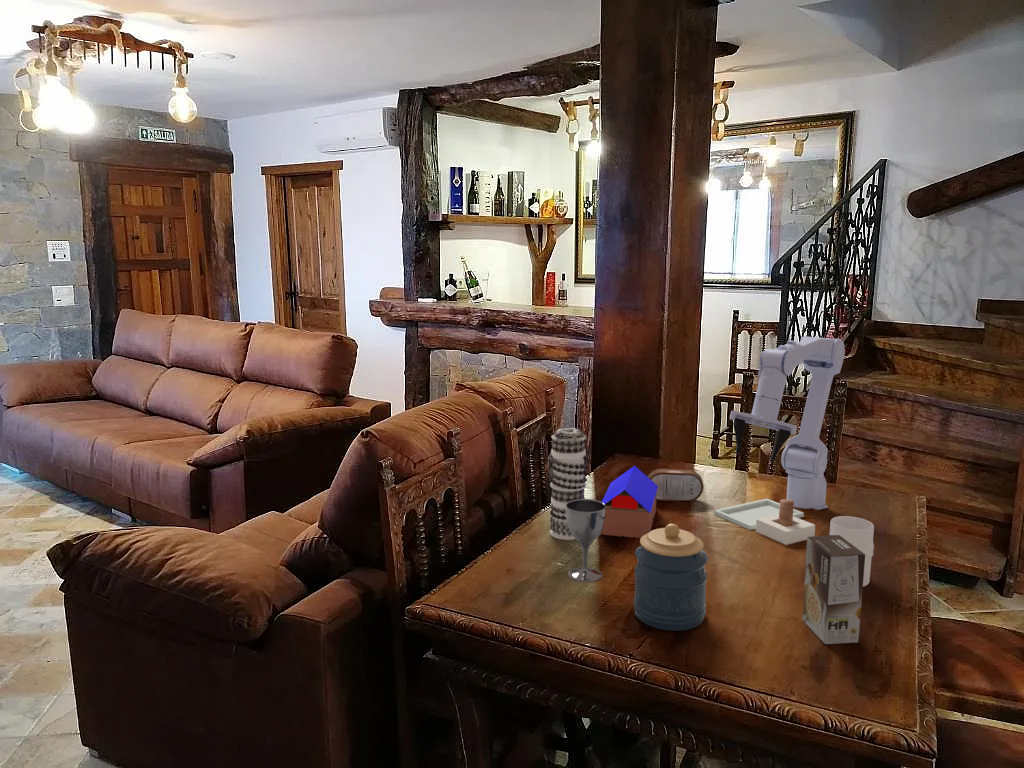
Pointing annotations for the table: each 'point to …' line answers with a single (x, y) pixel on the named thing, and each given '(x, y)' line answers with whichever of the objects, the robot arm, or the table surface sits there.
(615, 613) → the table surface
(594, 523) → the wine glass
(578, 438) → the decorative candle
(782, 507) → the pin
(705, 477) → the table surface
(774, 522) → the cup block
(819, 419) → the robot arm
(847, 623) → the coffee box
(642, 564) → the canister
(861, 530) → the mug
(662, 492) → the tin
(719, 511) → the tray
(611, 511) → the house
